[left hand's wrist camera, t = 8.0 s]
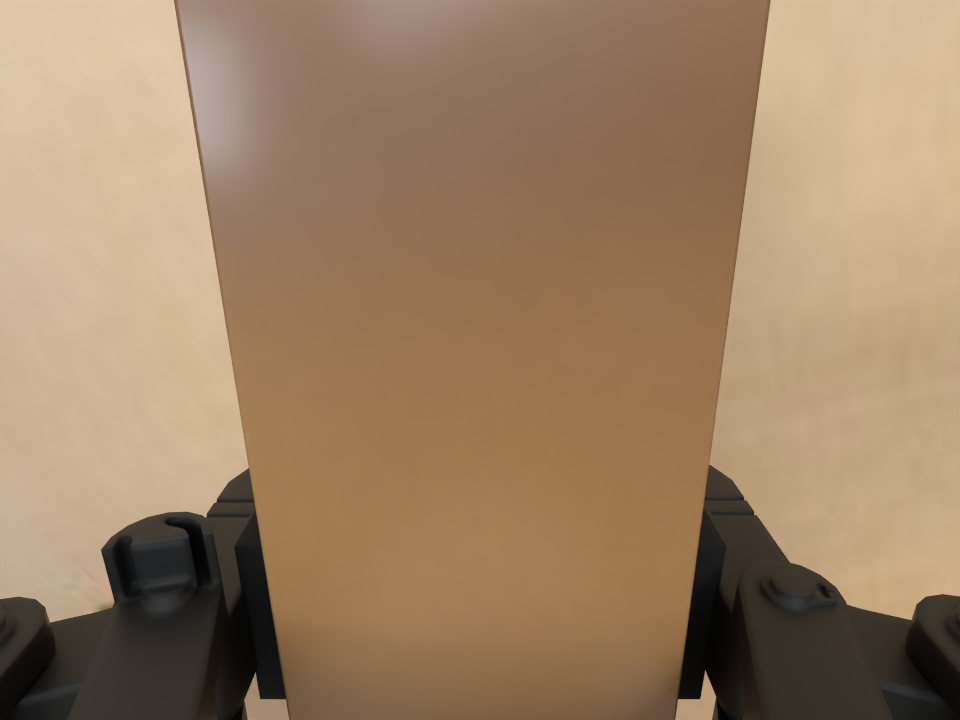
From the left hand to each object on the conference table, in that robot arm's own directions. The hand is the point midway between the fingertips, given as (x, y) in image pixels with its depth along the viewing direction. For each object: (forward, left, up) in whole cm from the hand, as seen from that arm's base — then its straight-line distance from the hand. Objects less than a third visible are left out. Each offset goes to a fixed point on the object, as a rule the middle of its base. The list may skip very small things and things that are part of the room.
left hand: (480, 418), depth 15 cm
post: (+7, -20, 0) cm, 21 cm away
